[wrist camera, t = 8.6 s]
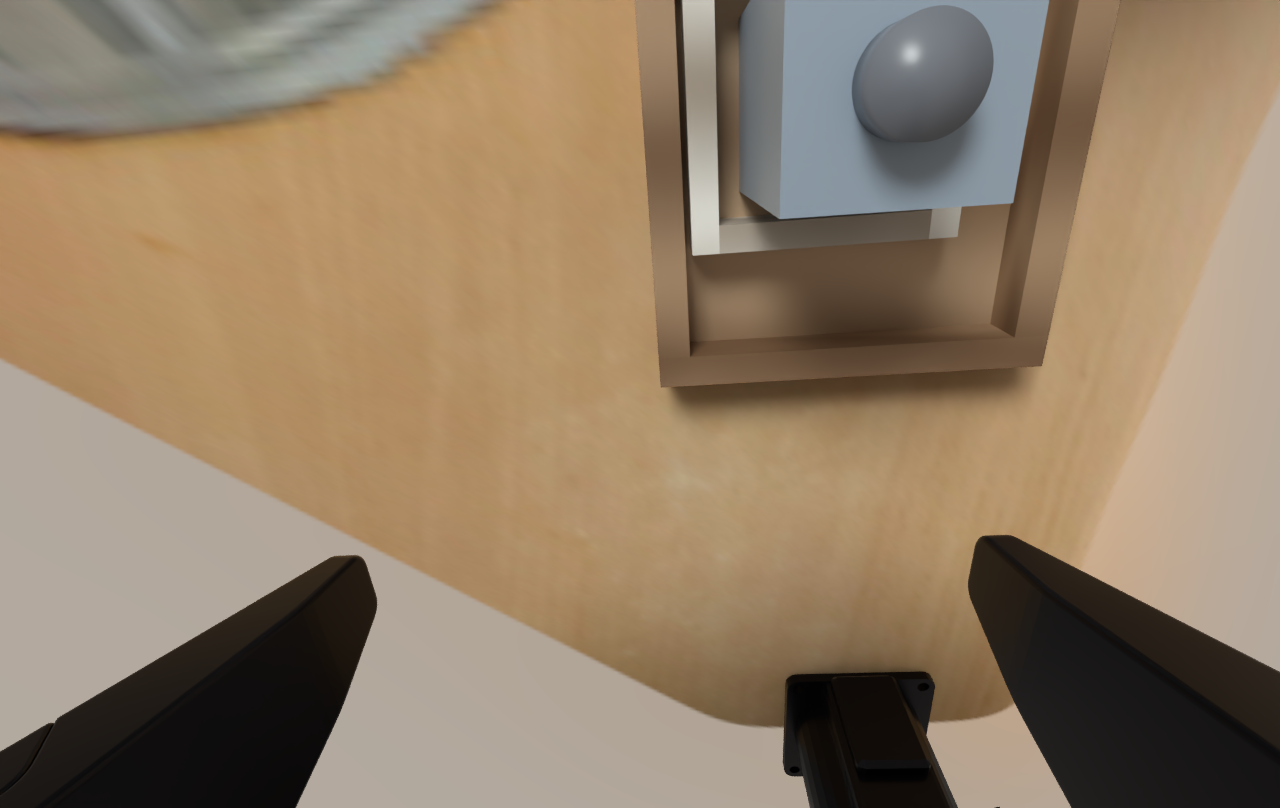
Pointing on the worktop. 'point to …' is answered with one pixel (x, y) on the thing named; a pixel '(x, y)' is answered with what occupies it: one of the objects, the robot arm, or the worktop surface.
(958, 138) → the block
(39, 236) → the worktop surface
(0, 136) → the worktop surface
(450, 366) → the worktop surface
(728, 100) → the walnut box
